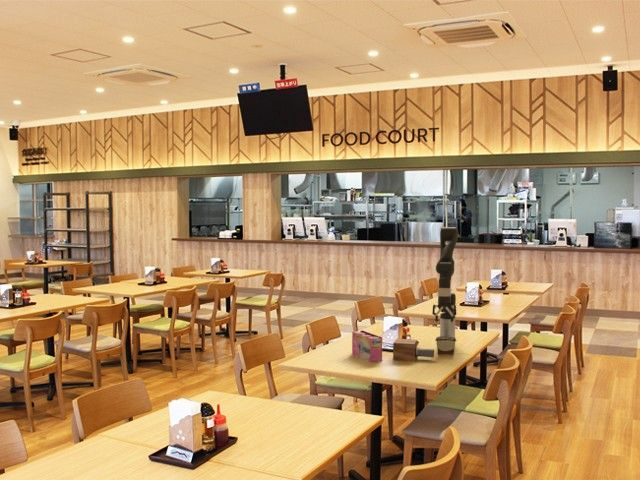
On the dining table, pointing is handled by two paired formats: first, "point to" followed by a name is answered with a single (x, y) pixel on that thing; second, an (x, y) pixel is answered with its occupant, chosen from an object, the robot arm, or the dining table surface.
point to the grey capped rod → (424, 352)
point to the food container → (445, 345)
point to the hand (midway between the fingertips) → (444, 322)
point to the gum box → (367, 346)
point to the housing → (404, 349)
